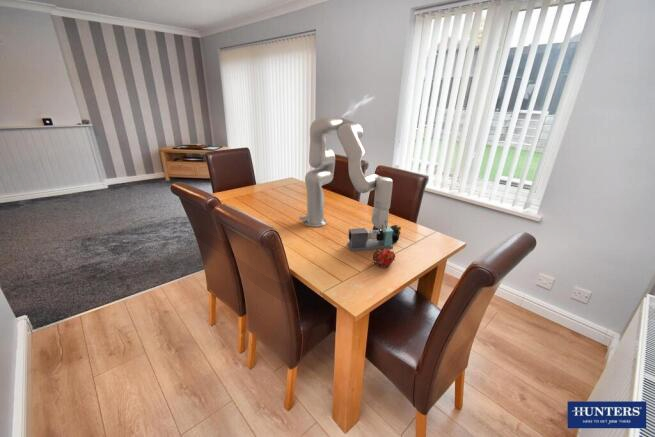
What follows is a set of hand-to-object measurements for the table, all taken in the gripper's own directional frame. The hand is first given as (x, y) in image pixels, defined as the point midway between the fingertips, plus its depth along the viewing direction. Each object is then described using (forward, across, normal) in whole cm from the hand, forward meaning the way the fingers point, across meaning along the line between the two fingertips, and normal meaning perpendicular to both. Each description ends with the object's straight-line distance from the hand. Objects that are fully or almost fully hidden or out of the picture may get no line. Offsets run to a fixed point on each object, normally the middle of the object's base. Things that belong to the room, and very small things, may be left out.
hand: (378, 238), depth 136 cm
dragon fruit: (+4, +16, -3) cm, 17 cm away
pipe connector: (+5, -10, +10) cm, 15 cm away
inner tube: (-1, 0, -2) cm, 2 cm away
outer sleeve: (+3, 0, -11) cm, 11 cm away
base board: (+4, 0, -4) cm, 6 cm away
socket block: (+3, 0, +4) cm, 5 cm away
